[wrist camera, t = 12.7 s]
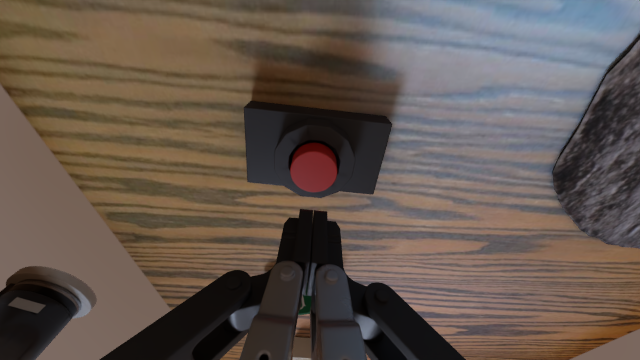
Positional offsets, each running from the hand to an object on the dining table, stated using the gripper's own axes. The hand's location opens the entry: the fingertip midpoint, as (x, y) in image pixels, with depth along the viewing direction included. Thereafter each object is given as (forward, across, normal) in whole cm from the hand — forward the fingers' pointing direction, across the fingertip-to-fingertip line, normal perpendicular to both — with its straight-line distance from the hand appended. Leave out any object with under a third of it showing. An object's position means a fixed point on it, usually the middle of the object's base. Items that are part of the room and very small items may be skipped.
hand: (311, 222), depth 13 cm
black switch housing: (+11, 0, 0) cm, 11 cm away
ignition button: (+7, 0, 0) cm, 7 cm away
